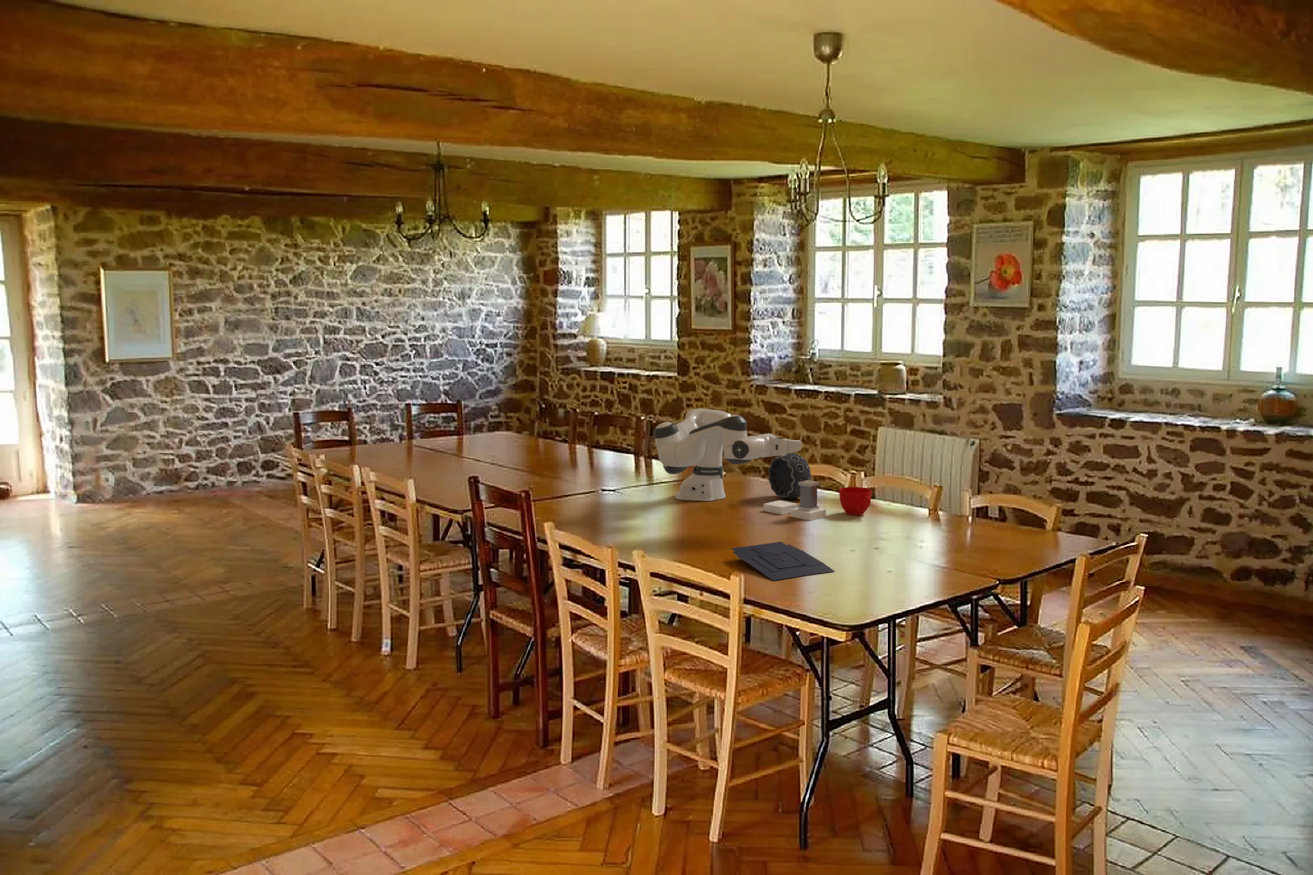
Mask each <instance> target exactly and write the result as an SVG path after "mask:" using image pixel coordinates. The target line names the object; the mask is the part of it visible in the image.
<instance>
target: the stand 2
mask: <svg viewBox="0 0 1313 875" xmlns="http://www.w3.org/2000/svg"><path fill="white" fill-rule="evenodd" d="M790 517H791V518H796V519H799V520H800V519H801V520H807V521H814V520H818V519H822V518H826V517H827V509H826V508H822V507H821V508H820V507H819V510H814V511H810V512H809V511H804V510H799V509H798V508H795V509H791V513H790Z"/></svg>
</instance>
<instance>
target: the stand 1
mask: <svg viewBox="0 0 1313 875" xmlns="http://www.w3.org/2000/svg"><path fill="white" fill-rule="evenodd" d="M798 506H799V503H795V502H791V501H786V500H775V501H770V502H767V503H766V502H765V503H763V511H764V512H768V513H773V514H778V515H786V514H791V509H795V508H798Z"/></svg>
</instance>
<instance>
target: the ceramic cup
mask: <svg viewBox="0 0 1313 875" xmlns="http://www.w3.org/2000/svg"><path fill="white" fill-rule="evenodd" d="M838 492H839V502H840V505H841V506H840V507H842V509H843V511H844V513H846V515H848V516H855V517H856V516H862V515H864V513H865V512H867V511H868V509H869V507H870V506H871V502H872V501H871V500H872V489H871V488H867V487H861V486H847V487H841V488H839V490H838Z"/></svg>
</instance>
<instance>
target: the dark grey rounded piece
mask: <svg viewBox="0 0 1313 875" xmlns="http://www.w3.org/2000/svg"><path fill="white" fill-rule="evenodd" d="M811 472H812V471H811V467H810V465H809V463H808V461H807V460H806V458H804V457H803V456H801V455H800V454H797V453H796V452H793V453H787V454H786V455H785V456H775V458H773V459H772V460H771V462H770V466H769V467H768V477H767V478H768V482H769V484H770V489H771V491H773V492H774V493H775V495H776V496H778V497H779V498H782V499H784V500H785V499H786V500H792V499H799V498H800V485H798V482H801V481H806V480H810V481H812V473H811Z"/></svg>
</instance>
